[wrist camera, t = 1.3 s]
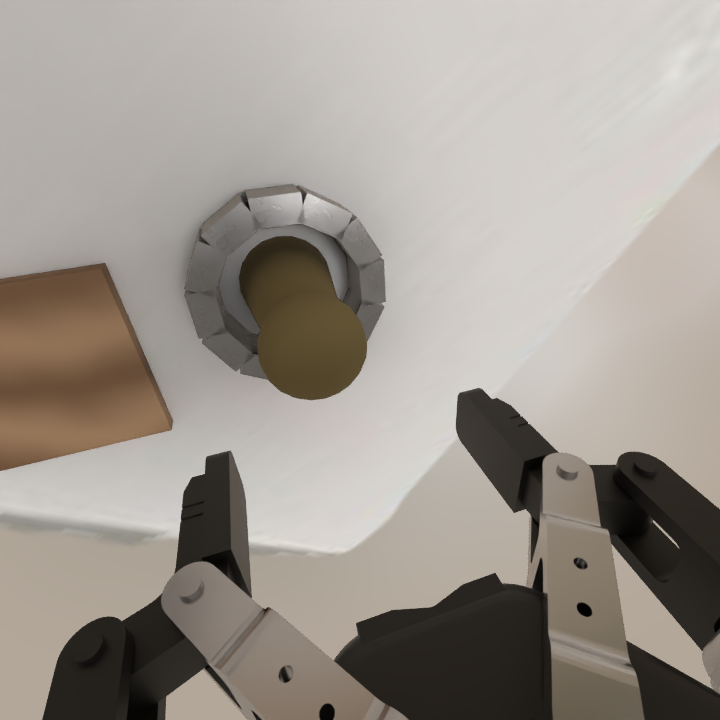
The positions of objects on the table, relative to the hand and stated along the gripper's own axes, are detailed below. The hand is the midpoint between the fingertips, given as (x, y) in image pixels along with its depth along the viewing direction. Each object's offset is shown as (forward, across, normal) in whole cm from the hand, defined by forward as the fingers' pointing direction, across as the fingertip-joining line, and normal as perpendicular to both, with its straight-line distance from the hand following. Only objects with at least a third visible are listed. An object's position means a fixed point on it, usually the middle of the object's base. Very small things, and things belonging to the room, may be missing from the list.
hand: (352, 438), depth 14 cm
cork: (+16, 0, 0) cm, 16 cm away
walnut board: (+16, +16, +3) cm, 23 cm away
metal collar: (+16, 0, 0) cm, 16 cm away
